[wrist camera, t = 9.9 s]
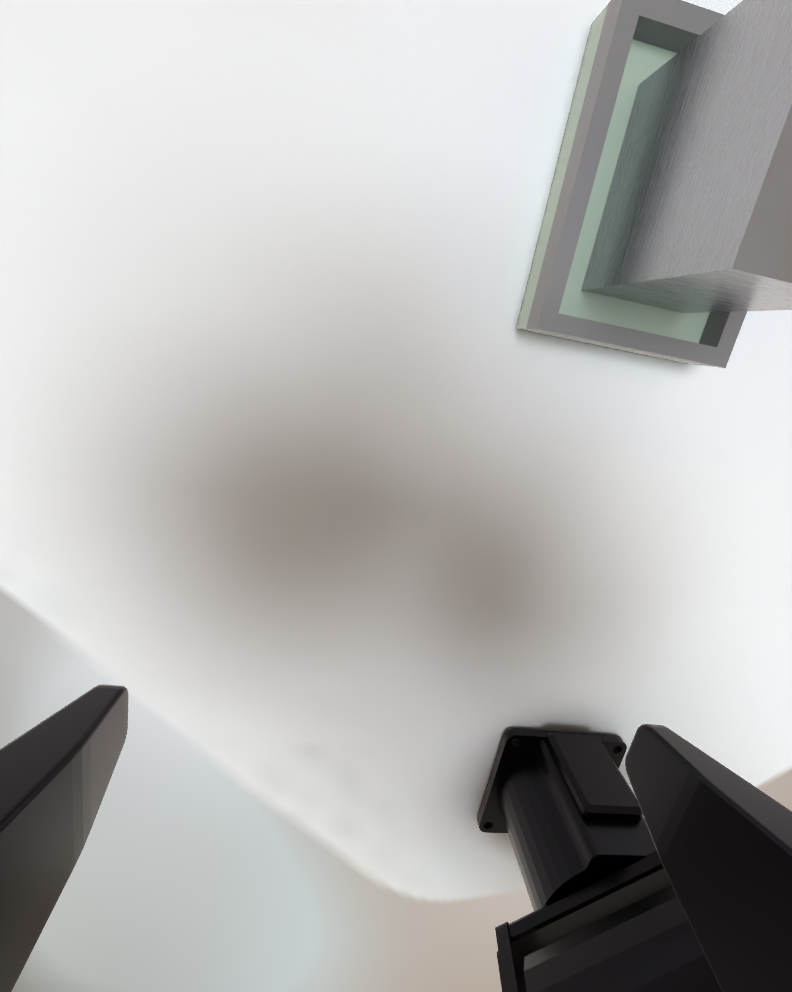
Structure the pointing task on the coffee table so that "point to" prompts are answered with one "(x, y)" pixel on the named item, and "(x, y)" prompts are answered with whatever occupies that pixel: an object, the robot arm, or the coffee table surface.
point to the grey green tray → (584, 189)
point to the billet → (707, 175)
